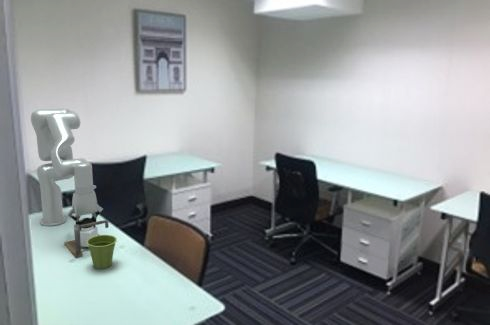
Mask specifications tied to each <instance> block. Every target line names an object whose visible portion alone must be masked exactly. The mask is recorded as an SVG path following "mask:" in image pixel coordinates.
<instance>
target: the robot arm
mask: <svg viewBox="0 0 490 325" xmlns="http://www.w3.org/2000/svg"><path fill="white" fill-rule="evenodd" d="M30 121H31V122H30V123H31V125H32V128H33V130H34V132H35V136H36V144H37V145H36V146H37V153H38V158H39V160H40V161H42V162H49V163H44V164H41V165H40V166H38V167H37V169H36V174H37V179H38V182H39V187H40V188H39V189H40V199H41V209H42V218H41V219H40V221H39V224H40V225H41V226H46V227H51V226H52V227H53V226H54V227H55V226H58V225H61V224H64V223H66V222H67V217H69V218H70V219H72V220H73V221H75V225H76V224H78V225H81V224H80V221H79V220H80V219H81V216H85V215H90V214H91V217H90V218H92V219H93V222H97V218H98V217H99V215H100V214H101V212H102V211H103V210H104V208H103V207H102V206H100V205H99V204H98V200H97V195H96V192H95V189H97V185H94V180H93V177H94V176H93V166H92V163H91V162H88V160H86V159H85V158H74V156H73V154H74V153H73V148H72V145H73V144H74V143H75V140H76V139H75V137H74V135H73V131H72V130H77V129H79V128H80V126H81V119H80V116H79V115H78V114H77V113H76V111H73V110H70V109H69V108H43V109H37V110H33V112H31V115H30ZM50 162H51V163H50ZM73 177H74V179H73V180H74V192H73V193H72V200H71V203H72V204H71V210H69V211H68V213H67V214H66V215H67V217H66V216H64V214H63V213H64V212H63V201H62V198H63V197H62V189H61V187H60V186H59V185H58V184H57V183H56V182H58V181H64V180H70V179H71V178H73ZM73 214H74V215H73ZM94 227H97V225H94ZM80 230H81V228H80Z"/></svg>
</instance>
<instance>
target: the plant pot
mask: <svg viewBox="0 0 490 325" xmlns="http://www.w3.org/2000/svg"><path fill="white" fill-rule="evenodd" d="M117 240H118V239H117V237H116V236H114V235H112V234H99V235H98V236H94V237H91V238H89V239H88V240H87V242H86V243H87V244H88V246H89V249H90V250H89V252H90V256H91V260H92V265H93V268H95V269H99V270H100V269H107V268H109V267H111V266H112V264H113V258H114V249H115V246H116V242H117Z"/></svg>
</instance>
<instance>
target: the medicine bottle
mask: <svg viewBox="0 0 490 325" xmlns="http://www.w3.org/2000/svg"><path fill="white" fill-rule="evenodd" d="M79 221H80V224H81V225H83V224H88V223H93V219H92V218H91V217H83V218H80V219H79ZM98 231H99V230H98V227H97V226H96V227H94V226H89V227H85V228H81V230H80V241H81V246H82V247H89V246H88V244H87V243H86V242H87V240H88V239H89V238H91V237H94V236H98V234H99V232H98Z"/></svg>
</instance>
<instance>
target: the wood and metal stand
mask: <svg viewBox="0 0 490 325" xmlns="http://www.w3.org/2000/svg"><path fill="white" fill-rule="evenodd" d="M103 224H104V226H105V227H104V228H106V229H108V228H109V220H107V219H103V220H99V221H98V220H97V221H96V222H93V223H88V224H83V225H78V224H76V223H75V224H74V225H73V231H74V233H73V234H74V239H72V240H69V241H64V243H63V244H64V247H65V248H66V249H67V250H68V251H69V252H70V253H71V255H72V256H73V257H74V258H75V259H77V258H81V257H83V256H84V252H87V251H90V249H89V247H82V246H81V241H80V228H85V227H89V226H94V225H96V226H98V225H103ZM98 235H100V234H99V233H98Z"/></svg>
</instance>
